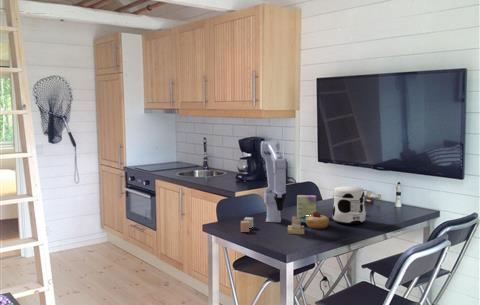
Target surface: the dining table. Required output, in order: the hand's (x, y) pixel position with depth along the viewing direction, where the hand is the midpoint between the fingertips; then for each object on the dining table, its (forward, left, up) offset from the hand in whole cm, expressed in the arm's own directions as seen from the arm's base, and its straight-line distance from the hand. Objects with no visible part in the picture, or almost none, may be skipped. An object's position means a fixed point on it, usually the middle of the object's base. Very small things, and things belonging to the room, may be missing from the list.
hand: (280, 208), depth 224 cm
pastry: (-5, +19, -10) cm, 22 cm away
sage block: (+1, -16, -10) cm, 19 cm away
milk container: (-15, +36, -10) cm, 40 cm away
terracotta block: (+8, -17, -10) cm, 21 cm away
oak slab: (+6, +8, -10) cm, 14 cm away
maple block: (+6, +8, -8) cm, 13 cm away
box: (-26, +14, -10) cm, 31 cm away
